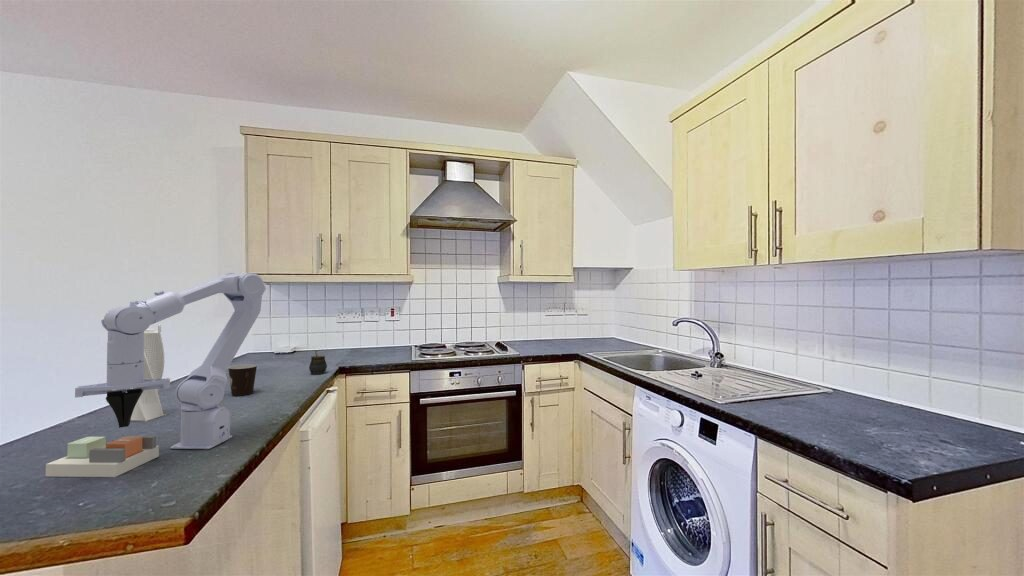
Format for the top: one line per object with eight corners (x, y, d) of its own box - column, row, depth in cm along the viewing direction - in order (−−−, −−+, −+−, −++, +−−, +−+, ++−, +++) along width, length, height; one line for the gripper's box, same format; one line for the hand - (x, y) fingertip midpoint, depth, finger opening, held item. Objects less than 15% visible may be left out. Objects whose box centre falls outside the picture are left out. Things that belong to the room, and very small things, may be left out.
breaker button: (142, 452, 88) (142, 436, 88) (124, 459, 84) (124, 443, 84) (124, 452, 88) (124, 436, 88) (105, 459, 84) (105, 443, 84)
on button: (105, 451, 88) (106, 436, 88) (86, 459, 84) (86, 443, 84) (87, 451, 88) (87, 436, 88) (67, 459, 84) (67, 443, 84)
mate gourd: (313, 376, 177) (313, 353, 177) (305, 374, 181) (305, 351, 181) (329, 373, 182) (329, 351, 182) (321, 371, 187) (321, 350, 187)
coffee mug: (232, 392, 148) (232, 365, 148) (259, 390, 151) (259, 363, 151) (221, 400, 137) (222, 371, 137) (251, 398, 140) (251, 369, 140)
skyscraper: (173, 415, 121) (175, 322, 122) (146, 424, 113) (148, 325, 114) (148, 414, 122) (149, 322, 122) (120, 422, 114) (121, 324, 114)
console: (159, 456, 91) (159, 434, 91) (116, 477, 81) (116, 452, 81) (96, 456, 91) (97, 433, 91) (45, 476, 81) (46, 451, 81)
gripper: (172, 356, 93) (170, 415, 93) (82, 362, 85) (81, 426, 85) (168, 361, 88) (167, 423, 88) (72, 368, 79) (70, 436, 79)
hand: (124, 425), depth 86 cm, fingers closed
